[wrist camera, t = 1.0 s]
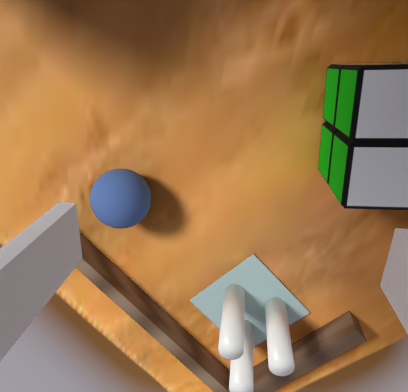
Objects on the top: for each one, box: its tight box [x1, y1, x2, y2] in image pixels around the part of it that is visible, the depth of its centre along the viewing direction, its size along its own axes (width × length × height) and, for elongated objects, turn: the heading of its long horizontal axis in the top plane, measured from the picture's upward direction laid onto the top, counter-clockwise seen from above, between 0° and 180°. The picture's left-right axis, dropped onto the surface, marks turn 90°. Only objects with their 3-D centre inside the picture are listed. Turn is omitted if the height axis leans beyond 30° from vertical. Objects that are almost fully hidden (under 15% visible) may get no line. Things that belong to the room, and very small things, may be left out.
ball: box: [90, 169, 151, 228], centre depth 35 cm, size 6×6×6 cm
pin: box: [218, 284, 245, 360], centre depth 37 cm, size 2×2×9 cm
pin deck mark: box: [190, 254, 310, 347], centre depth 41 cm, size 10×10×1 cm
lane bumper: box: [76, 233, 366, 392], centre depth 39 cm, size 33×19×3 cm, turn 43°
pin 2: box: [265, 297, 295, 376], centre depth 37 cm, size 2×2×9 cm
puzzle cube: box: [318, 62, 408, 210], centre depth 28 cm, size 10×10×10 cm
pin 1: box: [229, 319, 253, 392], centre depth 39 cm, size 2×2×9 cm
